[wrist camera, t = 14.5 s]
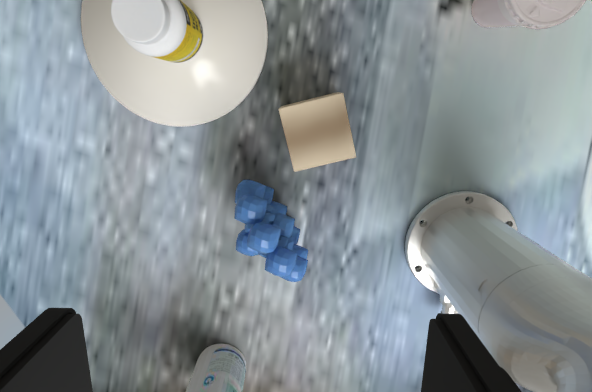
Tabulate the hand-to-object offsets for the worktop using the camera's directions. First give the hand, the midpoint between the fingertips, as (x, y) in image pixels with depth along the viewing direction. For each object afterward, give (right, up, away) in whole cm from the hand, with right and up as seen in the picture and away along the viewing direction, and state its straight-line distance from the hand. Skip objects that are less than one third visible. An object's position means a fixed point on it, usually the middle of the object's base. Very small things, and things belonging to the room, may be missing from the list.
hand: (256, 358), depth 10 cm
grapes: (-2, +2, +34) cm, 34 cm away
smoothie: (+20, +23, +28) cm, 42 cm away
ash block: (+3, +12, +31) cm, 34 cm away
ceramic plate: (-11, +21, +29) cm, 37 cm away
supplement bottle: (-11, +20, +28) cm, 36 cm away
